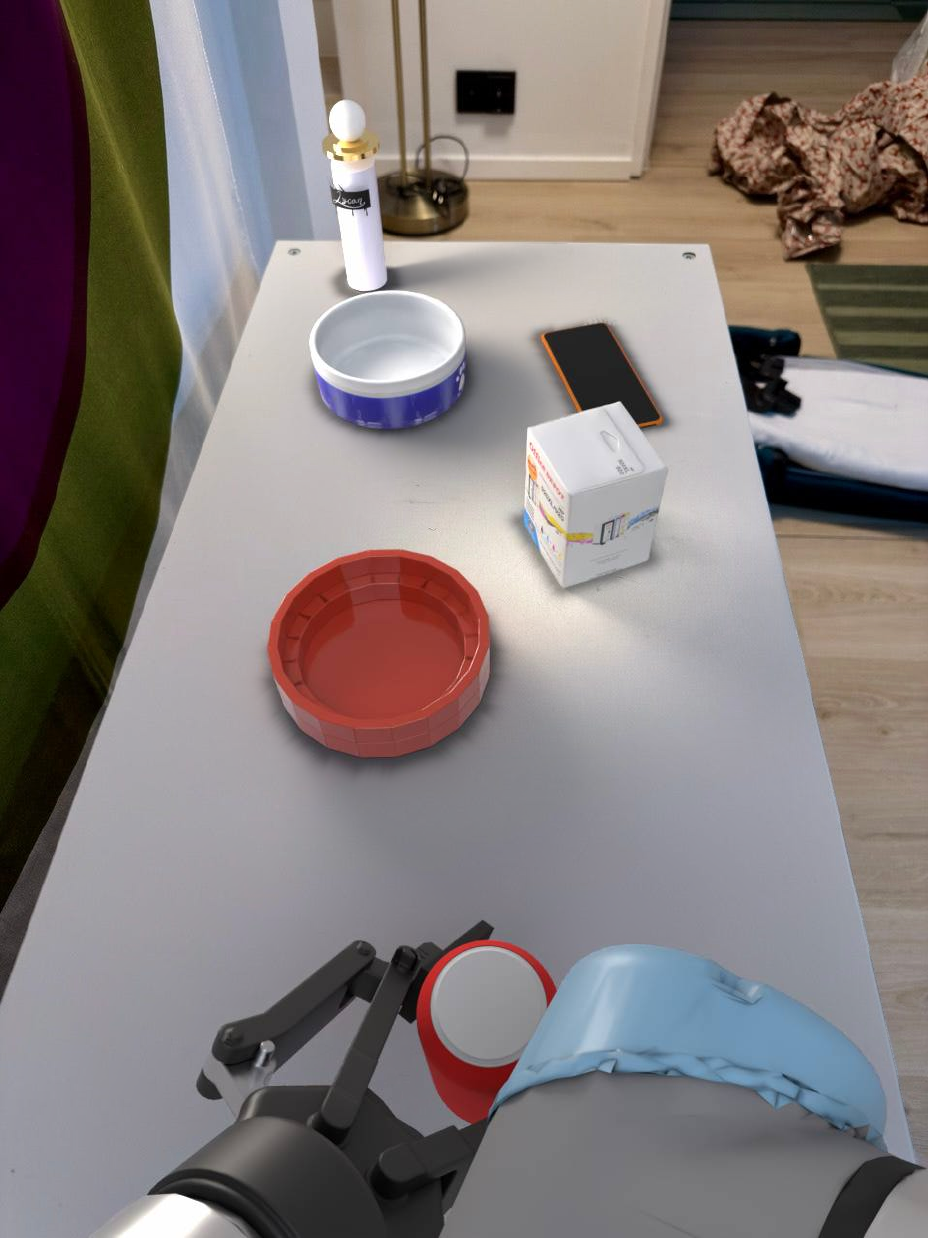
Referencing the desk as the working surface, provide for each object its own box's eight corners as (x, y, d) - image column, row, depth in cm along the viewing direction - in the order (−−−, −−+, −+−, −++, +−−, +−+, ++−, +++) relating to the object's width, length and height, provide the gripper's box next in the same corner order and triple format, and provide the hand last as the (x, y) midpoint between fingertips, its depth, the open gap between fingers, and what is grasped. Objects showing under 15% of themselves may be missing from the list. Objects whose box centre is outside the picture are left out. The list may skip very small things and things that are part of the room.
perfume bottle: (351, 268, 105) (326, 85, 89) (399, 273, 105) (382, 90, 89) (336, 296, 102) (307, 112, 86) (385, 302, 101) (365, 116, 85)
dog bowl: (347, 329, 98) (339, 280, 93) (482, 348, 96) (482, 298, 91) (297, 420, 90) (286, 370, 85) (444, 443, 87) (441, 394, 82)
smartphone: (591, 440, 86) (592, 434, 86) (539, 339, 96) (539, 332, 96) (665, 425, 87) (666, 419, 87) (606, 326, 97) (607, 319, 96)
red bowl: (519, 725, 68) (521, 690, 64) (304, 790, 65) (292, 757, 61) (452, 567, 78) (450, 527, 74) (263, 617, 75) (250, 579, 71)
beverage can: (544, 1142, 44) (555, 1099, 35) (420, 1119, 45) (398, 1070, 35) (557, 1012, 48) (571, 940, 38) (443, 992, 49) (428, 917, 39)
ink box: (520, 524, 80) (523, 423, 71) (605, 498, 82) (619, 395, 73) (560, 594, 75) (570, 495, 66) (650, 564, 77) (672, 464, 68)
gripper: (-31, 1177, 29) (361, 932, 50) (433, 1732, 22) (667, 1174, 42) (36, 995, 27) (413, 819, 48) (565, 1530, 20) (742, 1051, 41)
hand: (532, 986), depth 45 cm, fingers closed on beverage can, 6 cm apart
